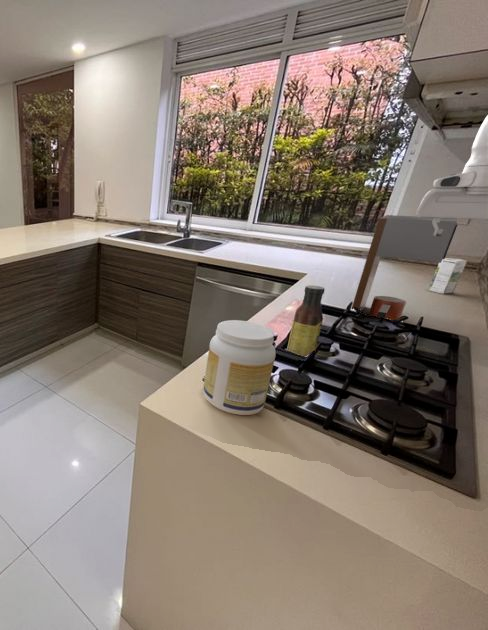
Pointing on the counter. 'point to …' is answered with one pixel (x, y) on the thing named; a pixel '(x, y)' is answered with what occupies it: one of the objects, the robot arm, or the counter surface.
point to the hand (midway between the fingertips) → (463, 237)
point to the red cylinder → (387, 307)
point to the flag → (404, 246)
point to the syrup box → (447, 275)
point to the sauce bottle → (307, 322)
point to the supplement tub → (239, 367)
